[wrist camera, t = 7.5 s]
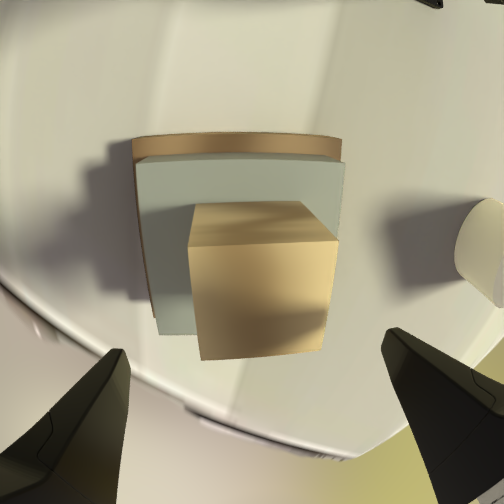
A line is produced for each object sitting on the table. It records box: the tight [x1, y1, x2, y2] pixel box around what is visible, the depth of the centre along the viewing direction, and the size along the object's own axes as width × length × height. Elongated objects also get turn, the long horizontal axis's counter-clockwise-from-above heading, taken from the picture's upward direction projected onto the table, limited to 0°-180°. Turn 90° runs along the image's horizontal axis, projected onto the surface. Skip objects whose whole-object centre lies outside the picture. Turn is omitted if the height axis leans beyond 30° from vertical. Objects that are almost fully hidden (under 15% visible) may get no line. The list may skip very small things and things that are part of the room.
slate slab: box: [136, 152, 345, 335], centre depth 17 cm, size 10×10×3 cm
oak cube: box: [188, 201, 339, 361], centre depth 13 cm, size 5×5×5 cm
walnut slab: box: [132, 132, 342, 318], centre depth 19 cm, size 12×12×3 cm
